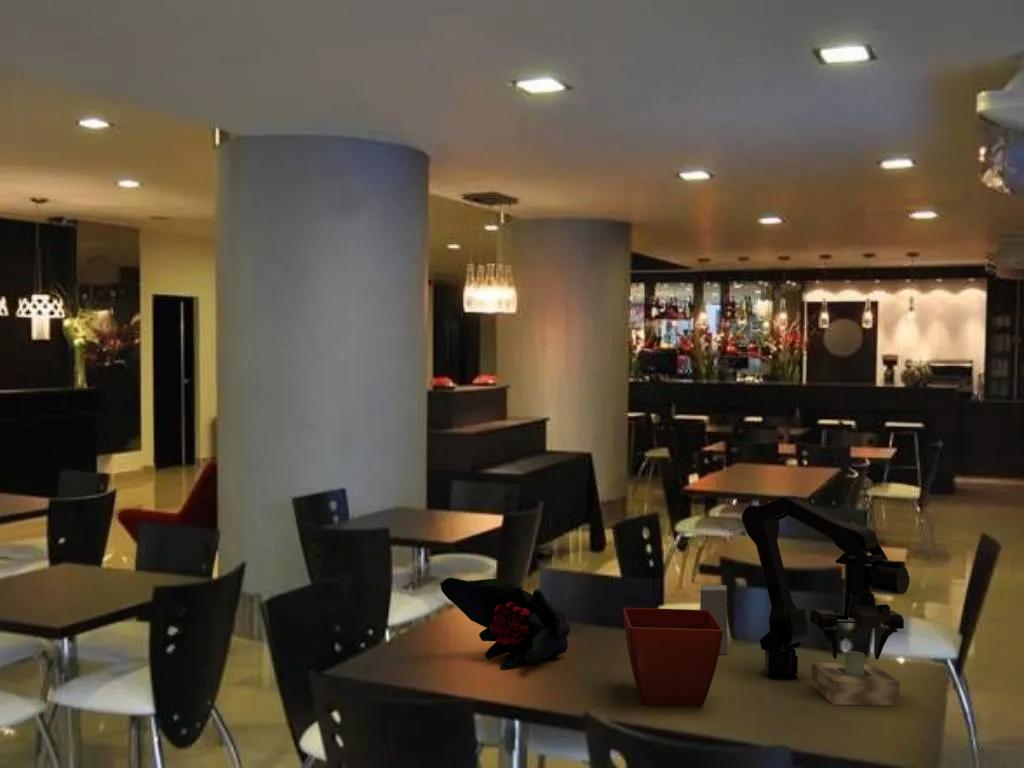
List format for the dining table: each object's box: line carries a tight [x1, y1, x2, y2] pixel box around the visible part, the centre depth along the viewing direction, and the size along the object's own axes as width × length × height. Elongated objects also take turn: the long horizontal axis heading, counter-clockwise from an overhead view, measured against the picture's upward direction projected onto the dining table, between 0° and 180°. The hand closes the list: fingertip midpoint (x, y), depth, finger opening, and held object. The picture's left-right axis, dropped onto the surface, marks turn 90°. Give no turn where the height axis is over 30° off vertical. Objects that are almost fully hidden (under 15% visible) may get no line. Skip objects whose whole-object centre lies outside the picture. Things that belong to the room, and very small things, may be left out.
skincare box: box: [699, 584, 729, 655], centre depth 271 cm, size 8×7×16 cm
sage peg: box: [844, 650, 866, 676], centre depth 237 cm, size 4×4×9 cm
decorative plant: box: [439, 577, 571, 670], centre depth 254 cm, size 21×26×30 cm
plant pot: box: [622, 607, 723, 707], centre depth 231 cm, size 19×19×17 cm
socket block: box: [810, 662, 901, 707], centre depth 237 cm, size 14×14×5 cm
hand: (855, 658), depth 237 cm, fingers open, 9 cm apart
